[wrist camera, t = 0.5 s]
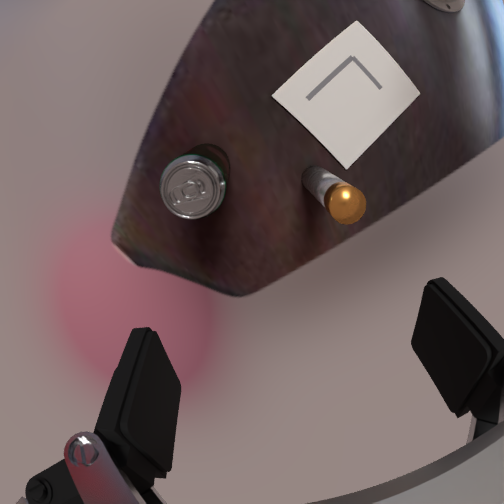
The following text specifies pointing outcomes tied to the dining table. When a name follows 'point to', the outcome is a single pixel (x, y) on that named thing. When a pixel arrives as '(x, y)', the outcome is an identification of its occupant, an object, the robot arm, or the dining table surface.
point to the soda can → (195, 182)
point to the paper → (348, 93)
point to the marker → (335, 195)
